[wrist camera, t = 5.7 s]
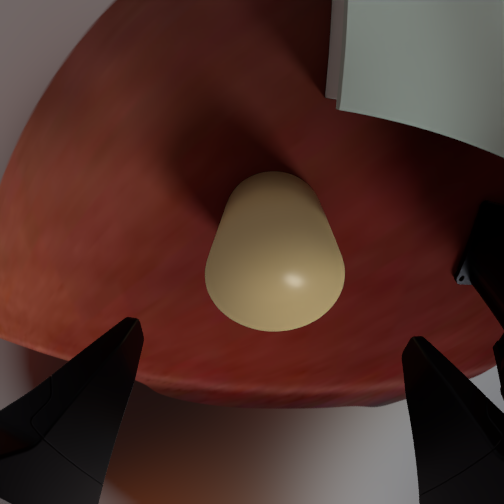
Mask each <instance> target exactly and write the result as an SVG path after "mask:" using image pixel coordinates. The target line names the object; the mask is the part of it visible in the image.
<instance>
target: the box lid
mask: <svg viewBox="0 0 504 504" xmlns="http://www.w3.org/2000/svg"><path fill="white" fill-rule="evenodd" d="M336 109H338V110H343V111H348V112H354V113H359V114H364V115H369V116H374V117H378V118H383V119H387V120H391V121H395V122H399V123H403V124H407V125H411V126H415V127H418V128H422V129H425V130H429V131H432V132H435V133H438V134H442V135H445V136H448V137H451V138H454V139H457V140H459V141H462V142H465V143H468V144H471V145H473V146H476V147H479V148H481V149H484V150H486V151H489V152H491V153H494V154H496V155H498V156H501V157H503V158H504V0H344V16H343V33H342V48H341V61H340V73H339V83H338V93H337V102H336Z"/></svg>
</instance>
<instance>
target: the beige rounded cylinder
mask: <svg viewBox="0 0 504 504" xmlns="http://www.w3.org/2000/svg"><path fill="white" fill-rule="evenodd" d="M344 278H345V269H344V263H343V259H342V256H341V253H340V251H339V248H338V246H337V243H336V240H335V238H334V235H333V233H332V230H331V228H330V225H329V223H328V220H327V218H326V216H325V213H324V211H323V208H322V206H321V204H320V201H319V199H318V197H317V195H316V193H315V192H314V191H313V189H312V188H311V187H310V186H309V185H308V184H307V183H306V182H304V181H303V180H302V179H300V178H298V177H296V176H294V175H292V174H289V173H285V172H279V171H269V172H262V173H258V174H255V175H253V176H251V177H249V178H247V179H245V180H244V181H243V182H241V183H240V184H239V185H238V186H237V187H236V188H235V189H234V191H233V192H232V193H231V195H230V197H229V199H228V202H227V204H226V207H225V210H224V213H223V216H222V218H221V221H220V224H219V227H218V230H217V233H216V236H215V239H214V242H213V245H212V248H211V251H210V254H209V257H208V260H207V263H206V268H205V281H206V286H207V290H208V292H209V295H210V297H211V299H212V300H213V302H214V303H215V305H216V306H217V307H218V308H219V309H220V310H221V311H222V312H223V313H224V314H225V315H226V316H228V317H229V318H230V319H232V320H234V321H235V322H237V323H239V324H241V325H244V326H246V327H249V328H253V329H257V330H263V331H286V330H292V329H296V328H299V327H302V326H305V325H307V324H309V323H311V322H313V321H315V320H317V319H318V318H320V317H321V316H323V315H324V314H325V313H326V312H327V311H328V310H329V309H330V308H331V307H332V306H333V305H334V303H335V302H336V301H337V299H338V297H339V295H340V293H341V291H342V288H343V284H344Z"/></svg>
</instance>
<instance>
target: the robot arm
mask: <svg viewBox="0 0 504 504" xmlns="http://www.w3.org/2000/svg"><path fill="white" fill-rule="evenodd" d="M487 207H488V208H487ZM486 208H487V210H486ZM454 279H455V281H456V282H457V283H458V284H468V285H473V286H474V288H475V289H476V290H477V292H478V293H479V294H480V296H481V297H482V299H483V300H484V301H485V303H486V304H487V306H488V307H489V308H490V310H491V311H492V313H493V314H494V316H495V317H496V319H497V320H498V322H499V323H500V325H501V326H502V328H503V329H504V205H501V204H498V203H494V202H491V201H484V202H483V203H482V204H481V207H480V210H479V213H478V216H477V219H476V222H475V225H474V228H473V231H472V233H471V236H470V239H469V242H468V244H467V247H466V249H465V252H464V255H463V257H462V259H461V262H460V264H459V267H458V269H457V271H456V274H455V276H454ZM143 342H144V336H143V332H142V328H141V324H140V321H139V319H137V318H131V317H126V318H124V319H123V320H122V321H121V322H119V323H118V324H117V325H115V326H114V327H113V328H111V329H110V330H109V331H107V332H106V333H105V334H103V335H102V336H101V337H100V338H98V339H97V340H96V341H94V342H93V343H92V344H90V345H89V346H88V347H87V348H85V349H84V350H83V351H81V352H80V353H79V354H77V355H76V356H75V357H74V358H72V359H71V360H70V361H69V362H67V363H66V364H65V365H63V366H62V367H61V368H60V369H58V370H57V371H56V372H55V373H53V374H52V377H51V376H49V377H48V378H47V379H46V380H44V381H43V382H42V383H41V384H39V385H38V386H36V387H35V388H34V389H33V390H31V391H30V392H28V393H27V394H25V395H24V396H22V397H21V398H19V399H18V400H16V401H15V402H13V403H11V404H10V405H8V406H7V407H5V408H4V409H2V410H0V504H98V503H99V498H100V494H101V491H102V487H103V485H102V484H103V482H104V479H105V475H106V471H107V468H108V464H109V461H110V457H111V454H112V450H113V447H114V443H115V440H116V437H117V433H118V430H119V427H120V424H121V421H122V417H123V415H124V411H125V408H126V405H127V402H128V399H129V396H130V393H131V390H132V387H133V384H134V381H135V377H136V373H137V368H138V364H139V359H140V355H141V351H142V346H143ZM493 351H494V355H495V360H496V364H497V369H498V374H499V379H500V384H501V388H500V390H501V395H502V397H503V400H504V333H503V335H502V336H501V338H500V339H499V341H497V342H496V343H495V345H494V346H493ZM402 364H403V373H404V383H405V393H406V399H407V405H408V410H409V415H410V422H411V428H412V434H413V440H414V449H415V457H416V465H417V475H418V486H419V503H420V504H504V413H503V412H502V411H501V410H500V409H499V408H497V407H496V406H495V405H494V404H493V403H492V402H491V401H490V400H489V399H488V398H487V397H486V396H485V395H484V394H483V393H482V392H481V391H480V390H479V389H478V388H477V387H476V386H475V385H474V384H473V383H472V382H471V381H470V380H469V379H468V378H467V377H466V376H465V375H464V374H463V373H462V372H461V371H460V370H459V369H458V368H456V367H455V366H454V365H453V364H452V363H451V362H450V361H449V360H448V359H447V358H446V357H445V356H444V355H443V354H442V353H440V352H439V351H438V350H437V349H436V348H435V347H434V346H433V345H432V344H431V343H430V342H428V341H427V340H426V339H425V338H424V337H422V336H414V337H412V338H411V339H410V340H409V342H408V344H407V346H406V347H405V349H404V351H403V353H402Z"/></svg>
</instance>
